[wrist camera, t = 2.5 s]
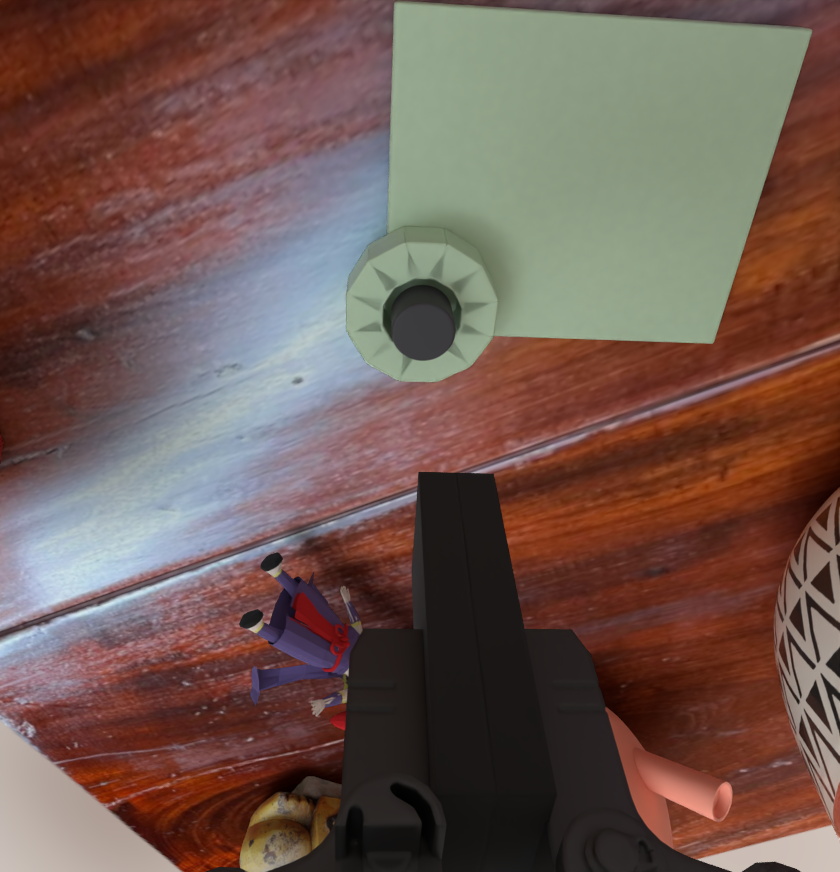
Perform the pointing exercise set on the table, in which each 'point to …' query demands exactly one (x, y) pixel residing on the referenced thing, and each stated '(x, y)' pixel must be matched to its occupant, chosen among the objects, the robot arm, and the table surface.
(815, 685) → the planter
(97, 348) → the table surface
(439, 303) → the tare button
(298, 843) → the decorative figurine
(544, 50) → the scale
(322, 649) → the figurine
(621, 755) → the teapot
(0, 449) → the plastic cup
